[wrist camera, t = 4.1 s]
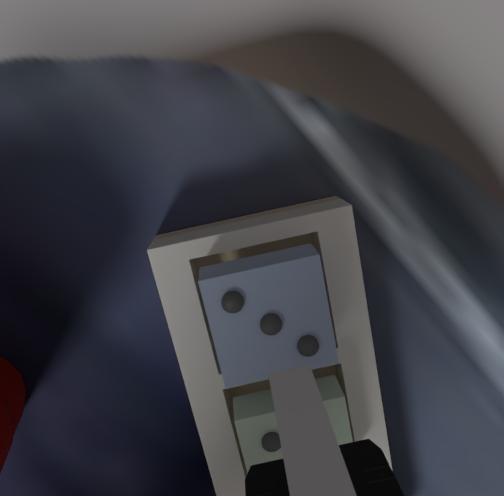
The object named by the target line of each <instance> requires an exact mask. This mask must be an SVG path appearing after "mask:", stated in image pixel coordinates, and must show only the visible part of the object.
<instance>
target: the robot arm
mask: <svg viewBox="0 0 504 496" xmlns="http://www.w3.org/2000/svg"><path fill="white" fill-rule="evenodd" d="M268 375H269V381H270V387H271V392H272V398H273V403H274V409H275V415H276V420H277V426H278V431H279V437H280V443H281V448H282V454H283V459H278V460H274V461H269V462H265V463H260V464H255V465H251V466H250V469H249V471H248V474H247V476H246V478H245V494H246V496H404V494H403V492H402V490H401V488H400V486H399V484H398V482H397V480H396V478H395V476H394V474H393V471H392V469H391V467H390V466H389V463H388V461H387V459H386V457H385V455H384V453H383V451H382V449H381V448H380V447H378V446H377V445H376V444H375V443H374V442H372V441H371V440H370V439H365V440H360V441H355V442H351V443H346V444H342V445H338V442H337V439H336V437H335V434H334V431H333V428H332V425H331V423H330V420H329V417H328V414H327V411H326V409H325V406H324V403H323V400H322V397H321V395H320V392H319V389H318V386H317V383H316V381H315V378H314V375H313V372H312V369H311V367H310V365H307V366H303V367H298V368H293V369H289V370H284V371H280V372H275V373H270V374H268Z"/></svg>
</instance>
